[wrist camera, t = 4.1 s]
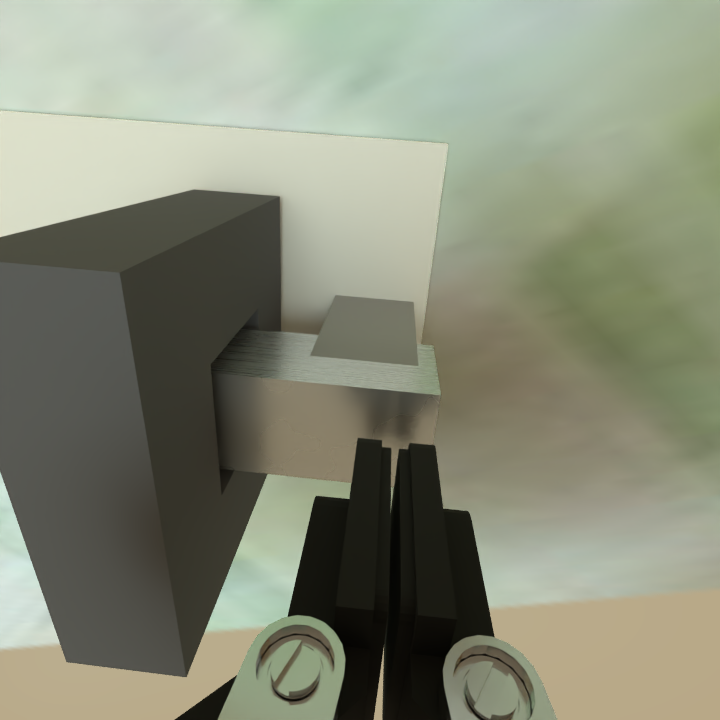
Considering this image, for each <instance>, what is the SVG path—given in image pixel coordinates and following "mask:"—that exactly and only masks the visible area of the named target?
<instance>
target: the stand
mask: <svg viewBox="0 0 720 720" xmlns="http://www.w3.org/2000/svg"><path fill="white" fill-rule="evenodd" d="M447 151H448V144H447V143H435V142H421V141H408V140H394V139H381V138H367V137H354V136H340V135H326V134H313V133H299V132H286V131H272V130H259V129H245V128H232V127H218V126H205V125H191V124H178V123H164V122H150V121H137V120H123V119H110V118H96V117H83V116H69V115H56V114H42V113H29V112H15V111H2V110H0V237H2V236H7V235H11V234H15V233H19V232H23V231H27V230H31V229H35V228H39V227H43V226H47V225H51V224H55V223H59V222H63V221H68V220H72V219H76V218H80V217H84V216H88V215H92V214H96V213H100V212H104V211H108V210H112V209H116V208H120V207H124V206H129V205H133V204H137V203H141V202H145V201H149V200H153V199H157V198H161V197H165V196H169V195H173V194H177V193H181V192H185V191H190V190H194V189H196V190H208V191H221V192H233V193H246V194H258V195H271V196H280V262H281V332H292V333H303V334H314V335H318V337H317V340H316V342H315V345H314V347H313V349H312V352H311V354H310V356H318V357H328V358H339V359H349V360H360V361H370V362H381V363H391V364H402V365H412V366H418V353H417V344H421V342H422V334H423V327H424V320H425V312H426V305H427V298H428V290H429V283H430V276H431V268H432V261H433V254H434V246H435V239H436V231H437V224H438V217H439V209H440V202H441V195H442V187H443V180H444V173H445V165H446V158H447Z"/></svg>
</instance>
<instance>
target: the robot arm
mask: <svg viewBox="0 0 720 720" xmlns="http://www.w3.org/2000/svg"><path fill="white" fill-rule="evenodd" d="M390 510H391V515H390ZM383 648H384V674H383V720H557V718H556V715H555V713H554V710H553V708H552V705H551V703H550V701H549V698H548V696H547V693H546V691H545V688H544V686H543V683H542V681H541V679H540V678H539V676H538V674H537V672H536V670H535V668H534V667H533V666H532V664H531V663H530V662H529V661H528V660H527V659H526V657H525V656H524V655H523V654H522V653H521V652H519V651H518V650H517V649H515V648H514V647H513V646H511V645H510V644H508V643H506V642H504V641H501V640H499V639H497V638H495V637H494V633H493V628H492V622H491V617H490V612H489V607H488V602H487V596H486V591H485V586H484V581H483V576H482V571H481V566H480V561H479V556H478V551H477V546H476V541H475V535H474V530H473V525H472V520H471V517H470V514H469V512H468V511H461V510H451V509H443V504H442V496H441V488H440V480H439V472H438V464H437V456H436V449H435V446H434V445H428V444H417V443H409V446H408V449H399V452H398V459H397V467H396V475H395V483H394V491H393V499H392V507H391V448H389V447H382V440H376V439H365V438H357V446H356V453H355V461H354V469H353V476H352V484H351V492H350V499H342V498H332V497H322V496H316V497H315V500H314V503H313V507H312V512H311V516H310V521H309V525H308V529H307V534H306V538H305V543H304V547H303V551H302V556H301V560H300V565H299V569H298V573H297V578H296V582H295V587H294V591H293V595H292V600H291V604H290V608H289V613H288V617H285V618H282V619H280V620H278V621H276V622H274V623H272V624H270V625H268V626H267V627H266V628H265V629H264V630H263V631H262V632H261V633H260V634H258V636H257V637H256V639H255V640H254V642H253V644H252V645H251V647H250V648H249V650H248V652H247V655H246V657H245V659H244V661H243V664H242V666H241V669H240V670H239V673H238V675H236V676H235V677H234V678H232V679H231V680H229V681H228V682H227V683H225V684H224V685H223V686H221V687H220V688H218V689H217V690H216V691H214V692H213V693H211V694H210V695H209V696H207V697H206V698H205V699H203V700H202V701H200V702H199V703H197V704H196V705H195V706H193V707H192V708H191V709H189V710H188V711H186V712H185V713H184V714H182V715H181V716H179V717H178V718H177V719H175V720H373V719H374V712H375V705H376V698H377V691H378V683H379V677H380V669H381V662H382V655H383Z"/></svg>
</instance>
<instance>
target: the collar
mask: <svg viewBox="0 0 720 720" xmlns="http://www.w3.org/2000/svg"><path fill="white" fill-rule="evenodd" d="M241 328H249V329H260V330H271V331H281V262H280V196H271V195H258V194H246V193H233V192H221V191H208V190H196V189H194V190H190V191H185V192H181V193H177V194H173V195H169V196H165V197H161V198H157V199H153V200H149V201H145V202H141V203H137V204H133V205H129V206H124V207H120V208H116V209H112V210H108V211H104V212H100V213H96V214H92V215H88V216H84V217H80V218H76V219H72V220H68V221H63V222H59V223H55V224H51V225H47V226H43V227H39V228H35V229H31V230H27V231H23V232H19V233H15V234H11V235H7V236H2V237H0V472H1V475H2V478H3V480H4V483H5V486H6V489H7V492H8V495H9V498H10V501H11V503H12V506H13V509H14V512H15V515H16V518H17V521H18V524H19V526H20V529H21V532H22V535H23V538H24V541H25V544H26V547H27V550H28V552H29V555H30V558H31V561H32V564H33V567H34V570H35V573H36V575H37V578H38V581H39V584H40V587H41V590H42V593H43V596H44V598H45V601H46V604H47V607H48V610H49V613H50V616H51V619H52V622H53V624H54V627H55V630H56V633H57V636H58V639H59V642H60V645H61V647H62V650H63V653H64V656H65V659H66V662H70V663H79V664H86V665H94V666H102V667H110V668H118V669H126V670H133V671H141V672H149V673H158V674H165V675H173V676H181V677H187V674H188V672H189V669H190V667H191V664H192V662H193V659H194V657H195V654H196V652H197V649H198V647H199V644H200V642H201V639H202V637H203V634H204V632H205V629H206V627H207V624H208V622H209V619H210V617H211V614H212V612H213V609H214V607H215V604H216V602H217V599H218V597H219V594H220V592H221V589H222V587H223V584H224V582H225V579H226V577H227V574H228V572H229V569H230V567H231V564H232V561H233V559H234V556H235V554H236V551H237V549H238V546H239V544H240V541H241V539H242V536H243V534H244V531H245V529H246V526H247V524H248V521H249V519H250V516H251V514H252V511H253V509H254V506H255V504H256V501H257V499H258V496H259V494H260V491H261V489H262V486H263V484H264V481H265V479H266V476H267V474H265V473H256V472H247V471H237V470H228V469H219V459H218V447H217V435H216V423H215V412H214V400H213V388H212V376H211V363H212V362H213V361H214V360H215V359H216V358H217V356H218V355H219V354H220V353H221V352H222V350H223V349H224V348H225V347H226V346H227V345H228V343H229V342H230V341H231V340H232V339H233V337H234V336H235V335H236V334H237V333H238V331H239V330H240V329H241Z"/></svg>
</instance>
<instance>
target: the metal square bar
mask: <svg viewBox="0 0 720 720" xmlns="http://www.w3.org/2000/svg"><path fill="white" fill-rule="evenodd" d="M317 337H318V335H314V334H303V333H292V332H281V331H271V330H260V329H249V328H241V329H240V330H239V331H238V333H237V334H236V335H235V336H234V337H233V339H232V340H231V341H230V342H229V343H228V345H227V346H226V347H225V348H224V349H223V350H222V352H221V353H220V354H219V355H218V356H217V358H216V359H215V360H214V361H213V362H212V363H211V376H212V388H213V400H214V412H215V423H216V435H217V447H218V459H219V469H228V470H237V471H247V472H256V473H265V474H275V475H284V476H293V477H303V478H312V479H322V480H331V481H340V482H350V483H352V476H353V469H354V461H355V453H356V446H357V438H365V439H376V440H382V447H389V448H391V487H394V483H395V475H396V467H397V459H398V452H399V449H408V446H409V443H417V444H428V445H433V441H434V435H435V429H436V423H437V417H438V411H439V405H440V399H441V392H440V385H439V379H438V372H437V366H436V359H435V353H434V347H433V346H432V345H421V344H417V353H418V366H412V365H402V364H391V363H381V362H370V361H360V360H349V359H339V358H328V357H318V356H310V354H311V352H312V349H313V347H314V345H315V342H316V340H317Z"/></svg>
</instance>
